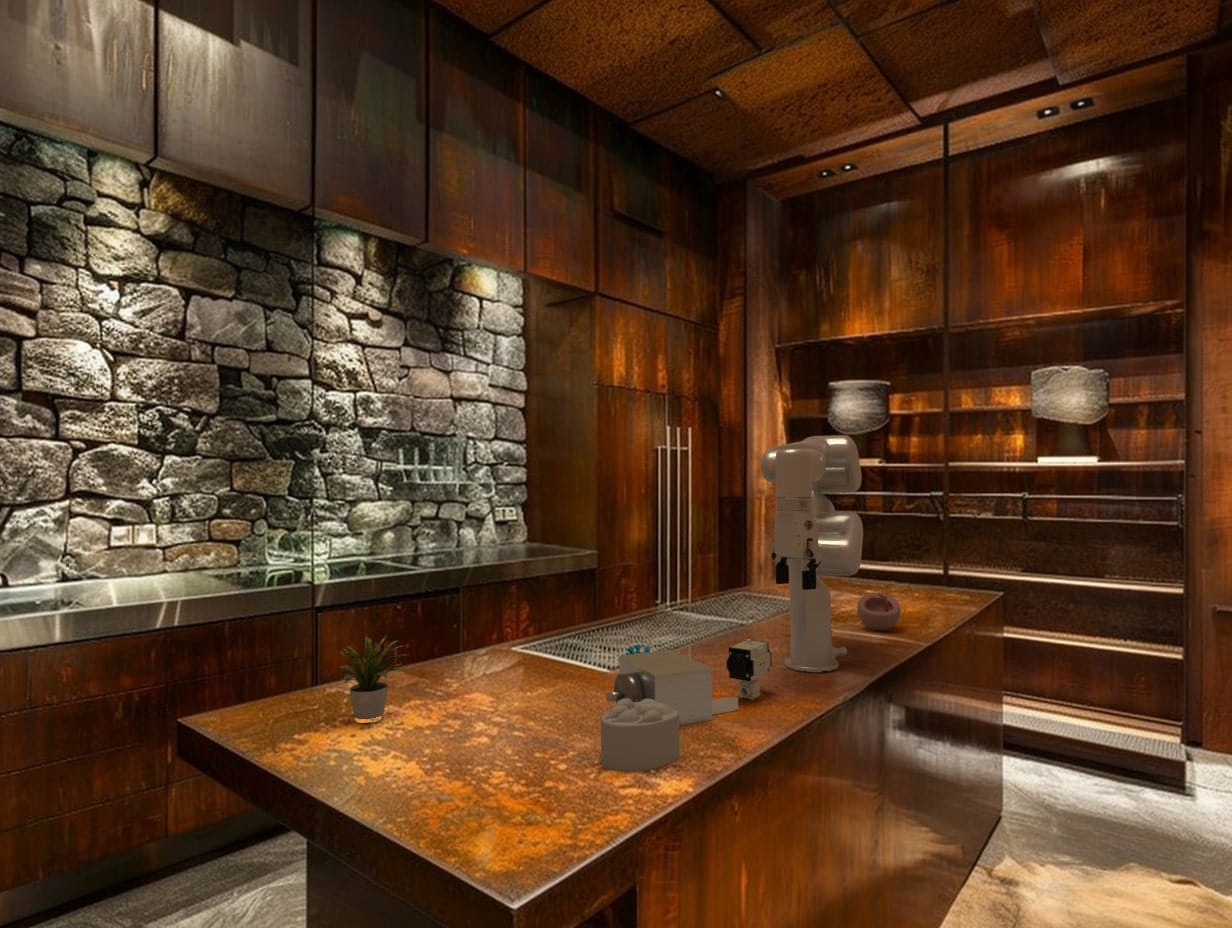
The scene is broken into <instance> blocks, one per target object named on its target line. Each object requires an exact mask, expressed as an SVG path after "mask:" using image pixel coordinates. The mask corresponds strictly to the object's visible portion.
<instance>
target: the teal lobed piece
mask: <svg viewBox="0 0 1232 928" xmlns="http://www.w3.org/2000/svg"><path fill="white" fill-rule="evenodd" d="M642 648H643V647H642V645H640V644H636V645H635V646H629V647H628V648H627V652H625V653H624V655H631V654H639V653H647V652H651V649H652V648H650V647H649V646H647V645H646V646H645V647H644V649H643V652H642V651H641V649H642ZM635 652H636V653H635Z"/></svg>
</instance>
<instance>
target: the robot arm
mask: <svg viewBox="0 0 1232 928" xmlns="http://www.w3.org/2000/svg"><path fill="white" fill-rule="evenodd" d="M759 466H760V473H761V476H762V477H763V479H764V480H765V481H766V482H768V483H775V504H776V505H775V506H776V508H775V509H776V510H775V511H776V513H775V519H774V527H773V541H772V542H771V543H770V544H769V546H768V548H769V550H770V554H771V558H772V560H773V565H774V566H775V568H774V569H775V584H777V585H787V584H788V585H789V617H790V618H789V620H790V621H789V622H790V623H789V625H790V627H789V628H790V655H789V656H786V657H785V659H784V666H785V667H787V668H789V669H792V670H794V671H799V672H804V671H806V672H805V673H823V672H822V671H829V672H832V671H831V670H834V669H836V670H838V669H837V668H839V666H840V663H839V661H838V660H837V657H838V656H839V657H840V656H847V655H848V649H847V647H845V646H842V647H841V646H840V647H836V646H833V645H832V613H831V611H832V608H831V607H832V605H831V603H832V602H831V593H830V589H829V588H828V587H827V585H826V584H825V582H824V581H823V580H822V579H821V577H820V576H837V577H838V576H839V577H841V576H843V577H845V576H847V577H850V576H854V575H856V574H857V573H858V572H859V569H860V567H861V563H862V553H863V552H862V551H863V541H864V540H863V539H864V527H863V522H862V519H861V517H860V516H859V514H857V513H856V512H853V511H847V510H835V506H834V504H833V502H831V500H830V499H828V497H827V496H825V494H830V493H831V494H833V493H834V494H836V493H837V494H838V493H839V494H840V493H841V494H842V493H844V494H845V493H848V494H849V493H854V492H857V491H858V490H859V489H860V488H861V486H862V467H861V462H860V456H859V452H858V447H857V445H856V443H855V441H854V440H853V437H850V436H849V435H845V434H842V435H841V434H838V435H813V436H809V437H806V438H804V439H803V440H801V441H796V442H791V443H788V444H787V443H786V444H783V445H777V446H772V447H769V448H768V449H766V450H765V451H764V452H763V454H762V455H761V460H760V465H759ZM834 671H835V670H834Z"/></svg>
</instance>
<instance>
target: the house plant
mask: <svg viewBox="0 0 1232 928" xmlns="http://www.w3.org/2000/svg"><path fill="white" fill-rule="evenodd" d="M387 636H388V634H386V635H385V636H384V637H383V638H382V639H381V640H380V642H378V644H377V645H376V646H375V648H374V646H373V644H372V638H371V637H368V634H367V633H366V634H365V637H364V638H365V639H364V653H363V655H362V653H361V651H360V649H359V648H358V647H357V646H355V645H354V644H353V645H352V644H350V645H349V644H346V647H347V648H348V650H350V652H349V651H348V650H347V649H345V648H343V650H344V651H337V652H335V653H337V654H338V653H340V654H341V655H342V656H343V657H345V658H346V659H347V660H348V661H349V662H350V663H351V664H352V665H353V666H351V665H348V664H344V665H341V666H339V669H343V670H345V671H348V672H350V674H349V673H346V674H344V677H343V680H344V682H343V684H345V683H346V682H349V681H351V680H353V677H354V680H355V681H356V682H357V683H358V684H355V685H353V686H350V688H349V694H350V695H349V696H350V700H351V705H352V712H353V718H354V717H355V718H358V719H371V718H376V717H379V716H382V715H383V714H385V709H386V704H387V703H386V702H387V695H388V689H389V684H388V683H387V682H383V681H382V679H381V678H382V677H383V678H385V680H386V681H388V680H387V679H388V674H389V673H390V672H394V671H402V672H403V670H402V666H401V663H397V664H396V663H395V664H389V665H387V664H388V663H389V662H391V661H394V660H397V659H399V658H401V657H405V656H409V655H411V653H407V654H406V653H405V654H396V655H393V656H390V655H391V654H393V653H395V652H401V650H399V649H398V648H400V647H403V645H400V646H396V647H394V648H392V647H393V645H395V643H397V642H398V641H399V639H396V640H394V641H392V642H391V643H389V644H388V645H387V646H386V647H385V649H384V650H383V651H382V650H381V649H380V648H381V646H382V644H383V643H384V641H385V640H386V638H387ZM351 646H352V647H351ZM407 646H408V645H407V644H406V645H404V647H407ZM353 647H354V648H355V649H356V650H357V651H358V653H359V654H358V653H357V651H356V650H355V649H354V648H353ZM390 649H391V650H390ZM395 649H398V650H395ZM380 651H382V652H381V653H380V654H379V656H378V653H379V652H380ZM389 656H390V657H389ZM360 657H361V658H360ZM377 657H378V658H377ZM384 657H385V658H384ZM386 665H387V666H386ZM398 667H400V668H401V669H400V668H398ZM388 668H390V669H388Z"/></svg>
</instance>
